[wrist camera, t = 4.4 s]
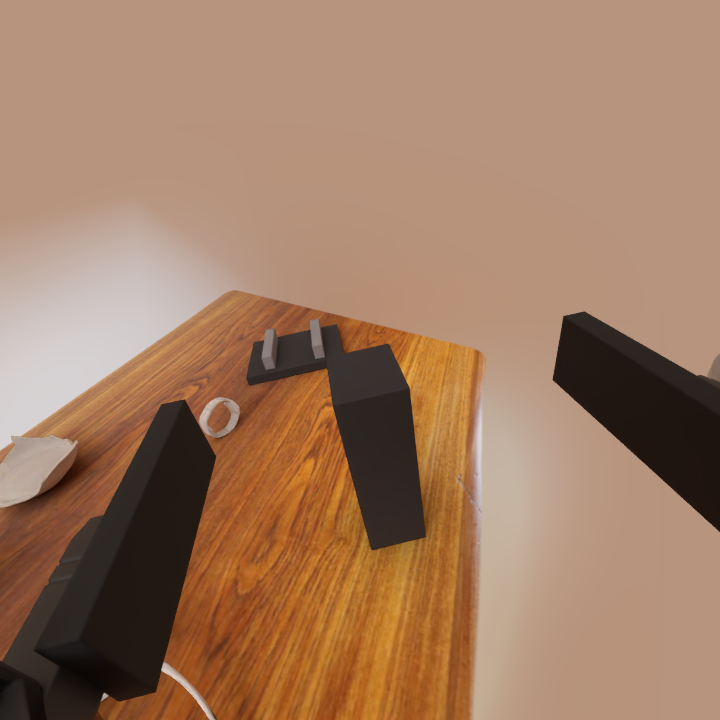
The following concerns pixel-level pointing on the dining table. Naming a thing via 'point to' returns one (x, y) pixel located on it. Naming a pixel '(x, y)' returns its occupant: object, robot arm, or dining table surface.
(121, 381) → the dining table surface
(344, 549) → the dining table surface
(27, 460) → the pottery shard
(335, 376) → the standing block
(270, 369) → the base pad
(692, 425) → the robot arm
